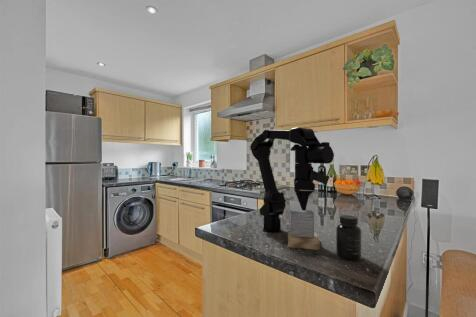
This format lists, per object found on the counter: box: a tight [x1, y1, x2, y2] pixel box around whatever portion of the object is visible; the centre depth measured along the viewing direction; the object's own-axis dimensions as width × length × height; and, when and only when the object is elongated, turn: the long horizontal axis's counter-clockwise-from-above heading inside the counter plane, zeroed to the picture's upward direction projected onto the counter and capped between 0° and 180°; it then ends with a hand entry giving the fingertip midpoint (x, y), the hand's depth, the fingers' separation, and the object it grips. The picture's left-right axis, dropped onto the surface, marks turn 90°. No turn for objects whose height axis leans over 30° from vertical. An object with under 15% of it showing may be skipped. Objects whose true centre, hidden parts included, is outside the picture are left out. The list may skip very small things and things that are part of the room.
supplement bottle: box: [335, 214, 362, 262], centre depth 67 cm, size 7×7×12 cm
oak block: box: [287, 230, 321, 251], centre depth 78 cm, size 10×10×3 cm
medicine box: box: [289, 209, 315, 238], centre depth 78 cm, size 8×4×9 cm, turn 78°
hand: (303, 207), depth 78 cm, fingers open, 9 cm apart
